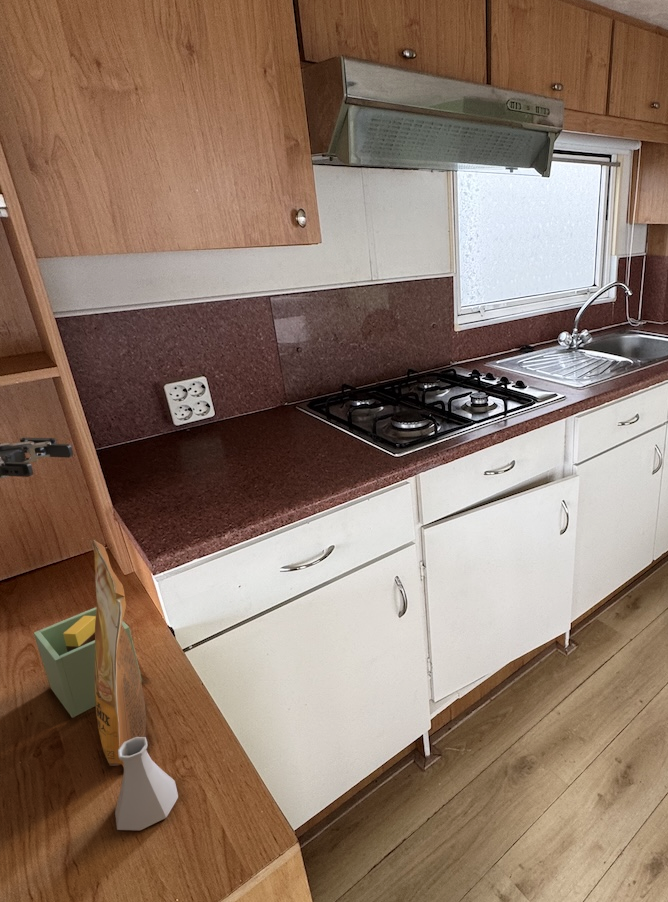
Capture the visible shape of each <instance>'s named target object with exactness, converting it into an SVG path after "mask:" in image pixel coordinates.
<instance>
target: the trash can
mask: <svg viewBox="0 0 668 902" xmlns="http://www.w3.org/2000/svg"><path fill="white" fill-rule="evenodd" d="M83 616H96V606H95V607H93V608H90V609H88V610H86V611H83V612H81V613H78V614H76V615H73V616H71V617H69V618H66V619H63V620H60V621H59V622H56V623H54V624H52V625H49V626H45V627H43V628H42V629H39V630H37V631H34V632H33V635H34V639H35V643H36V645H37V648H38V653H39V655H40V658H41V662H42V665H43V668H44V672H45V675H46V678H47V681H48V685H49V688H50V689H51V691H52V692H53V693H54V695H55V696H56V698H57V699H58V701H59V702H60V703H61V705H62V706H63V707H64V709H65V710H66V711H67V713H68V715H70V717H71V718H72V719H73V718H75V717H77V716H79V715H81V714H83V713H85V712H88V710H89V711H90V710H91V709H92V708H95V640H94V641H92V642H90V643H87V644H85V645H83V646H81V647H78V648H76V649H74V650H72V651H69V652H67V648H66V643H65V639H64V636H63V633H64V632H65V631H67V630H68V629H69V628H70V627H71V626H72V625H74V624H75V623H76V622H77V621H78V620H80V619H81V618H82V617H83ZM122 625H123V627H124V629H125V631H126V633H127V635H128V638H129V640H130V643H131V646H132V649H133V653H134V656H135V660H136V663H137V666H138V670H139V674H140V679H141V683H142V682H143V679H142V675H141V670H140V666H139V662H138V658H137V654H136V648H135V645H134V641H133V637H132V632H131V628H130V626H129V625H128V624H126V623H125V621H124V620H123V621H122Z"/></svg>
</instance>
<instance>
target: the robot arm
mask: <svg viewBox="0 0 668 902" xmlns="http://www.w3.org/2000/svg"><path fill="white" fill-rule="evenodd" d="M26 454H28V455H30V456H29V457H27V455H26ZM73 456H74V451H73V447H72V445H71V444H69V443H57V440H56V438H55V437H21V438H19V442H15V443H12V442H4V443H1V442H0V479H5V478H8V477H19V478H20V477H21V478H29V477H31V476H33V475H34V470H33V465H32V464H31V463H35V462H37V461H38V459H44V458H68V459H69V458H71V457H73Z"/></svg>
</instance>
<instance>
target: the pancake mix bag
mask: <svg viewBox="0 0 668 902" xmlns="http://www.w3.org/2000/svg"><path fill="white" fill-rule="evenodd" d="M89 543H90V545H91V547H92V550H93V554H94V576H95V577H94V578H95V579H94V580H95V593H96V596H95V597H96V598H95V599H96V600H95V601H96V602H95V603H96V605H95V607H96V621H95V706H94V708H95V715H96V721H97V729H98V734H99V739H100V742H101V747H102V751H103V754H104V757H105V758H106V761H107V763H108V764H109V766H110V767H112V766H122V768H123V769H124V764H123V761H122V760H119V755H118V750H119V748H120V747H121V746H122V744H123V743H124V742H125V741H128V740H130V739H133V738H135V737H146V738H147V735H146V734H147V711H146V709H147V708H146V701H145V698H144V691H143V686H142V682H141V679H140V674H141V673H140V674H139V670H140V669H139V670H138V666H139V665H138V666H137V663H136V660H135V656H134V653H133V649H132V646H131V643H130V640H129V638H128V635H127V633H126V631H125V629H124V627H123V625H122V621H123V622H124V617H125V613H126V609H127V602H126V595H125V589H124V584H122V582H121V581H120V580H119V578H118V575H116V573H115V572H114V570H113V568H112V565H111V563H110V559H109V555H108V552H107V550H106V547H105V546H104V545H103V544H101V542H98V541H97V540H95V539H90V540H89Z"/></svg>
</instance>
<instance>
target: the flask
mask: <svg viewBox="0 0 668 902" xmlns="http://www.w3.org/2000/svg"><path fill="white" fill-rule="evenodd" d="M148 746H149V745H148V739H147V736H146V737H135V738H133V739H130V740H128V741H125V742H124V743H123V744H122V746H121V747H120V748H119V750H118V755H119V760H122V761H123V764H124V768H123V775H122V776H123V777H122V779H121V780H122V781H121V785H120V790H119V794H118V798H117V803H116V806H115V810H114V815H115V825H116V830H117V831H142V830H145V829H146V828H148V827H150V826H152V825H155V824H156V823H158V822H160V821H163V820H165V819H167V817H168V816H169V814H170V812H172V811H171V810H172V809H173V807H174V805H175V804H176V802H177V800H178V798H179V793H178V789H177V785H176V780H174V779H173V778H172V777H171V776H170V775H169V774H167V773H166V772H165V770H163V769H162V768H161V767H160V766H158V764H157V763H155V761H154V760H153V759H152V758H151V756H150V755H149V753H148V750H147V749H148Z"/></svg>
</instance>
